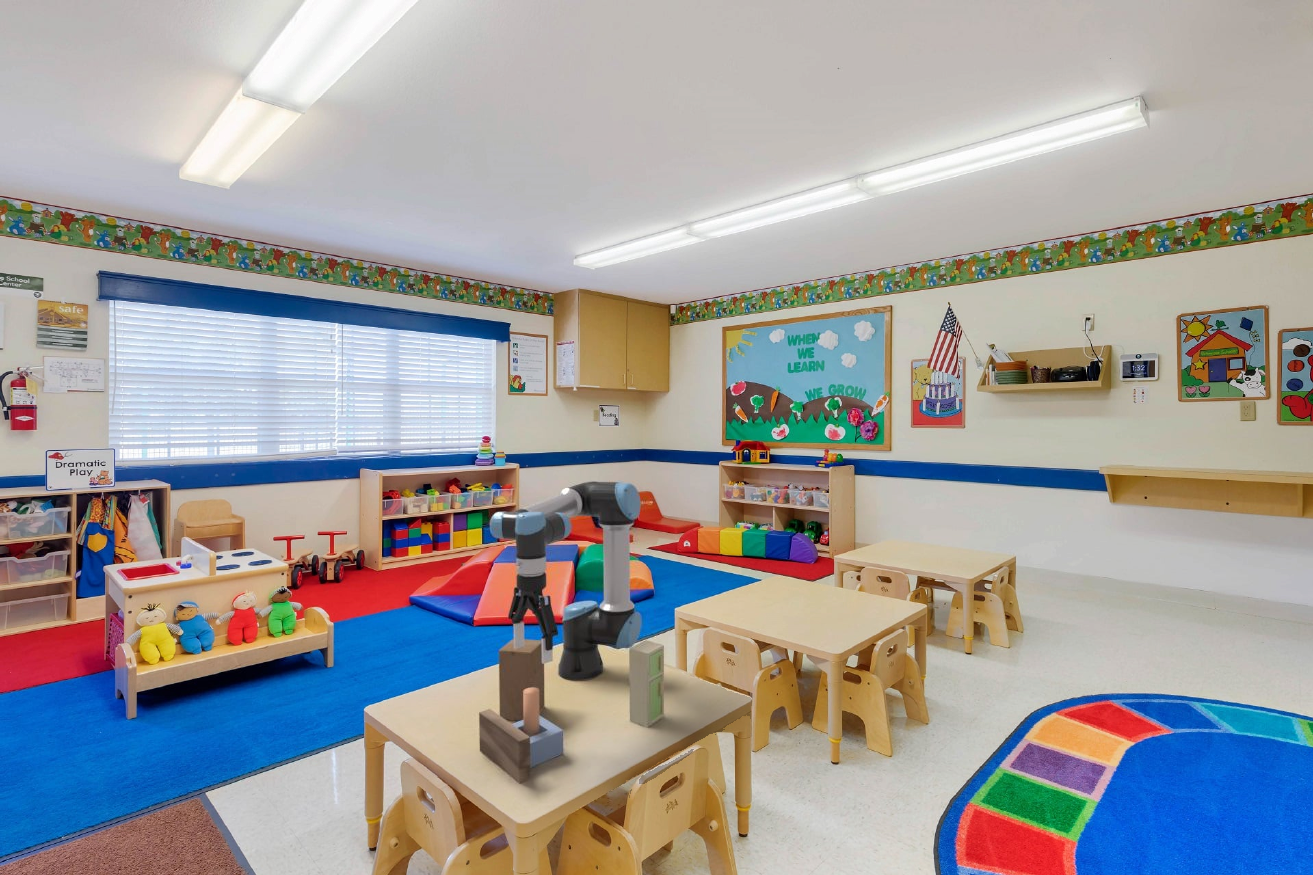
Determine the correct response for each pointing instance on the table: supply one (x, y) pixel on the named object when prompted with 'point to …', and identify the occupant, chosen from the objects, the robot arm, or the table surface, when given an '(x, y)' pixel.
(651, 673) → the toy refrigerator
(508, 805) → the table surface
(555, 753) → the socket block
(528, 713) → the dowel
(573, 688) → the table surface
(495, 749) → the wall
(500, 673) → the wooden block
